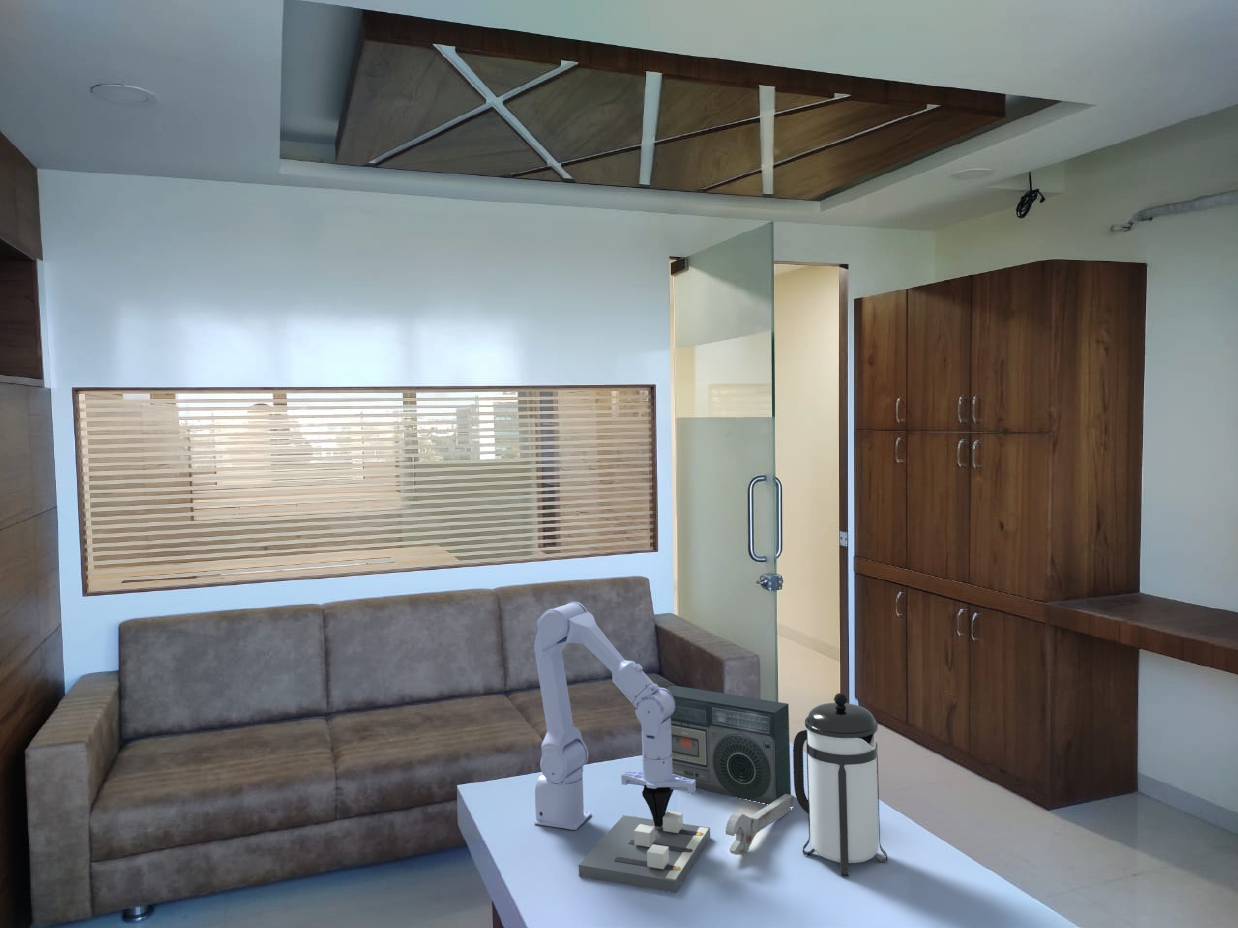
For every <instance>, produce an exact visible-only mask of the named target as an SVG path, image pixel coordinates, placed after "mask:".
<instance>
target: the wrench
mask: <svg viewBox="0 0 1238 928" xmlns="http://www.w3.org/2000/svg"><path fill="white" fill-rule="evenodd" d="M795 799H796V798H795V796H794V795H793V794H791V795H789V794H784V795H783V796H781V797H780V798H778V799H777V800H775V801H774V802H772V803H771V804H769V805H765V806H764V807H763V808H761V809H760V810H758V811H757V812H755V813H754V814H752V815H750V816H748V815H746V814H744V813H742V812H741V813H740V812H733V813H732V814H731V815H730V816H729V819H728V820H727V824H726V826H725V835H726V836H727V835H728V836H732V837H734V836H735V840H733V842H732V844H730V847H729V852H730V853H731V854H732V855H744V854H745V856H748V854H749V850H750V846H751V845H752V842H753V840H754V838H755V836H756V835H757V834H758V833H759V832H761V831H762V830H764V829H765V828H766V827H768V826H769V825H771V824H773V823H774V822H776V821H777V820H779V819H780V818H782V817H783V816H785V815H787V814H788V813H790V812H791V811H792V810H791V808H790V807H794V808H795V805H796V800H795ZM790 810H791V811H790ZM789 811H790V812H789Z"/></svg>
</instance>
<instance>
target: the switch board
mask: <svg viewBox="0 0 1238 928" xmlns="http://www.w3.org/2000/svg"><path fill="white" fill-rule="evenodd" d="M639 824H644V825H651V826H655V825H654V821H653V818H646V817H645V818H644V817H637V816H630V815H622V816H621V818H619V820H617V822H616V823H615V824H614V825H613V826H612V827H611V829H609V831H608V832H607V833H606V834H605V835H604V836H603V837H602V838H601V840H600V841H599V842H598V843H596V845H595V846H594V847H593V848H592V850H590V851H589V853H588V854H587V855H586V856H585V857H584V859H582V860H581V862H579V864H578V877H583V878H588V879H593V880H594V879H595V880H599V881H606V882H610V883H616V884H623V885H629V886H634V887H638V888H639V887H640V888H644V889H645V888H646V889H650V888H651V890H656V889H657V890H656V891H662V890H664V891H663V892H668V891H669V892H668V893H673V892H674V893H675V894H676V892H677V891H678V890H679V889H680V887H681V885H682V884H683V882H684V880H685V879H686V878H687V875H688V874H689V873H690V871H691V869H692V868H693V866H694V865H695V863H696V862H697V860H698V858H699V857H700V855H701V853H702V852H703V850H704V849H705V848H706V845H707V844H708V843H709V841H710V839H711V828H710V827H709V826H700V825H694V824H687V823H683V827H682V829H681V830H680V831H679V833H674V832H667V831H663V825H662V826H661V827H657V826H655V841H654V842H653V844H654V845H661V846H667V847H669V862H668V864H667V865H666V867H665V868H664V869H659V868H653V867H647V851H648V850H649V848H650V847H651V846H652V845H653V844H652V845H651V846H650V847H646V846H640V845H635V844H634V830H635V829H636V828H637V827H638V825H639ZM679 886H680V887H679Z"/></svg>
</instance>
